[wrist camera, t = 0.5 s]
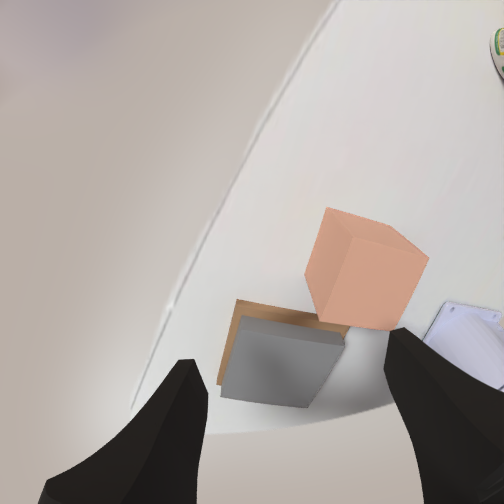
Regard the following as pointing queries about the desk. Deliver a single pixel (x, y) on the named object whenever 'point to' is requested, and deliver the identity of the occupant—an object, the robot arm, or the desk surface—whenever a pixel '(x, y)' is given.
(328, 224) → the terracotta block
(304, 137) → the desk surface
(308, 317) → the tower base
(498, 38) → the supplement bottle
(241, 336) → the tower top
